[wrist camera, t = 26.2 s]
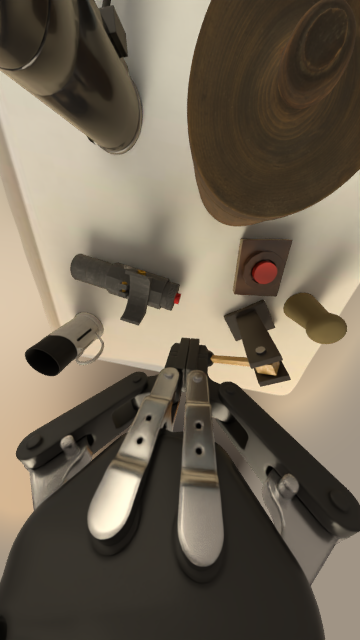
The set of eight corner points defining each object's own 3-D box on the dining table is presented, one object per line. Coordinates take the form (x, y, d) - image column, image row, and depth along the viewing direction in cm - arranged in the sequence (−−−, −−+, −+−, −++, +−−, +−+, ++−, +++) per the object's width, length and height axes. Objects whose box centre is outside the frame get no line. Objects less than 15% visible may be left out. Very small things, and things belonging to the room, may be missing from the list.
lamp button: (254, 260, 29) (256, 262, 28) (276, 260, 29) (280, 262, 27) (250, 281, 31) (252, 283, 29) (271, 281, 30) (274, 284, 29)
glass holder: (70, 310, 46) (14, 342, 33) (119, 316, 44) (81, 352, 31) (78, 337, 50) (32, 375, 37) (123, 343, 48) (91, 384, 35)
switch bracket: (235, 338, 42) (248, 394, 28) (223, 315, 39) (231, 363, 25) (273, 325, 39) (310, 380, 24) (263, 299, 36) (297, 344, 22)
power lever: (207, 357, 38) (200, 369, 36) (200, 346, 37) (192, 357, 35) (281, 364, 27) (277, 381, 25) (275, 348, 26) (269, 365, 24)
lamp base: (240, 238, 32) (244, 240, 28) (286, 239, 30) (297, 240, 26) (232, 290, 36) (235, 297, 32) (272, 292, 35) (279, 299, 31)
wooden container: (319, 141, 24) (729, -194, 5) (252, 241, 31) (317, 259, 12) (231, 80, 23) (337, -667, 4) (183, 200, 30) (134, 148, 11)
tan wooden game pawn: (279, 316, 37) (302, 346, 28) (290, 290, 34) (320, 314, 25) (307, 320, 37) (342, 352, 27) (321, 294, 34) (365, 320, 24)
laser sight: (88, 242, 36) (50, 246, 28) (187, 273, 36) (180, 287, 27) (89, 284, 41) (56, 298, 32) (176, 312, 41) (167, 334, 32)
